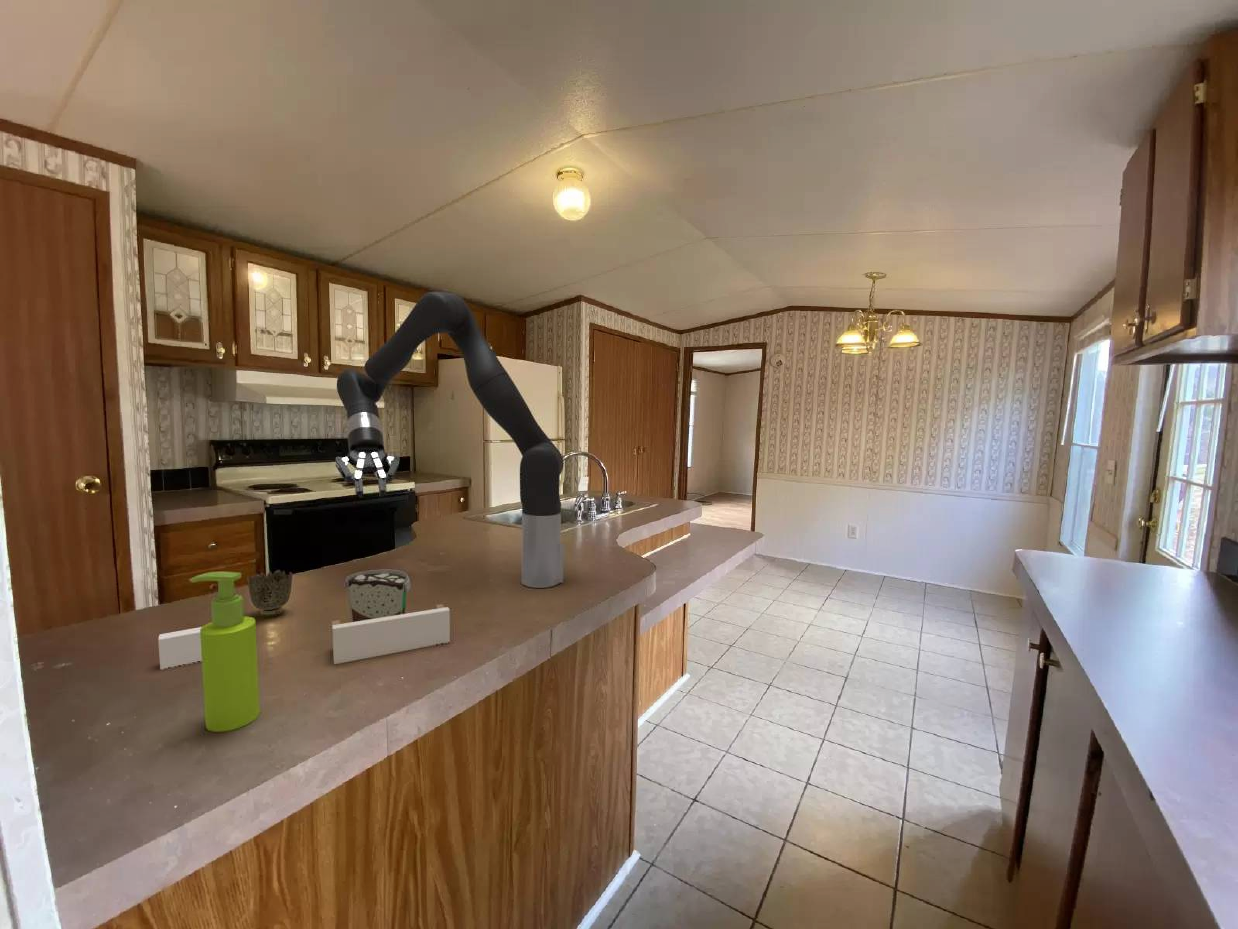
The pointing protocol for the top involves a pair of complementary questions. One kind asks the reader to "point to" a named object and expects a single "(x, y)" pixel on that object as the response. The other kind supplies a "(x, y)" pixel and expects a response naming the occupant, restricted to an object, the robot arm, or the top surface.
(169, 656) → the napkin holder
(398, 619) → the back stop bracket
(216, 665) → the soap dispenser
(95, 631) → the top surface
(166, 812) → the top surface
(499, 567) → the top surface
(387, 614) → the food container
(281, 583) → the cup
